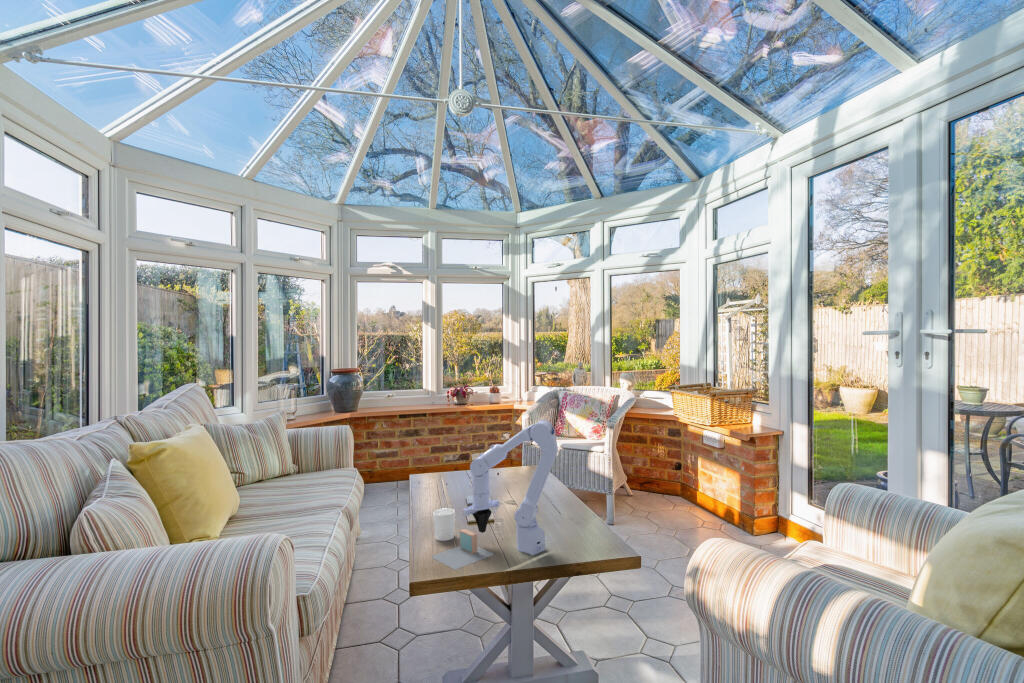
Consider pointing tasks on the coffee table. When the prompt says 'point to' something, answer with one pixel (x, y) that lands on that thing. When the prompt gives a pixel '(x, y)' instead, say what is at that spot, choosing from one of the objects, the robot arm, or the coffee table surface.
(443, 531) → the white cup
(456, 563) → the felt mat
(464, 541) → the block
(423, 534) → the coffee table surface
